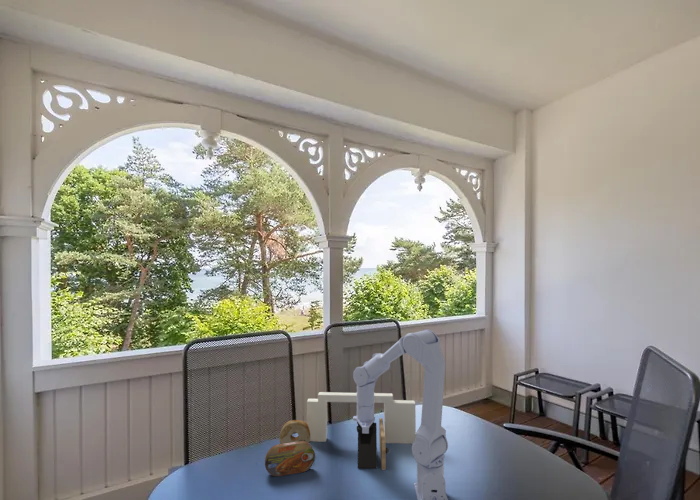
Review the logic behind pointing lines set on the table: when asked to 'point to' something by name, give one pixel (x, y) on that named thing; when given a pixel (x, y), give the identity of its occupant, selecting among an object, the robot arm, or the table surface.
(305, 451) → the tin
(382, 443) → the door
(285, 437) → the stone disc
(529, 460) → the table surface
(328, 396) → the door frame
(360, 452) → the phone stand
